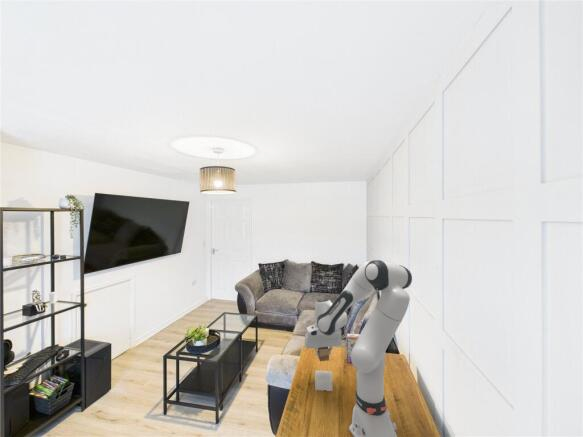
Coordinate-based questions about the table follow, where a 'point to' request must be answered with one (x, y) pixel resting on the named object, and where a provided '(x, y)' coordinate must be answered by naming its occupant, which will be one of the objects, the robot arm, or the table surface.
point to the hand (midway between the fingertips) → (323, 354)
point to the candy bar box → (350, 345)
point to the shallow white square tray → (323, 380)
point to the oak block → (323, 353)
